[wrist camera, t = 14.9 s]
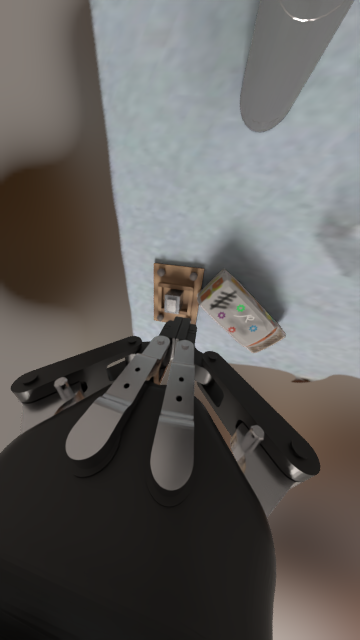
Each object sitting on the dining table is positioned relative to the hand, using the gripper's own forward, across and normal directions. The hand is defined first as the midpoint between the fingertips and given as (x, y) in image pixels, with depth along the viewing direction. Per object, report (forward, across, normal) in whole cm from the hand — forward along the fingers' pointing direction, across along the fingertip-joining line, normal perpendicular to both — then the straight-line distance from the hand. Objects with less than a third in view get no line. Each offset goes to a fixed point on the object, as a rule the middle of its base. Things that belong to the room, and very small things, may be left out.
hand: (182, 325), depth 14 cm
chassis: (+28, +6, +8) cm, 30 cm away
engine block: (+27, +6, +8) cm, 29 cm away
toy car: (+29, -13, +9) cm, 33 cm away
